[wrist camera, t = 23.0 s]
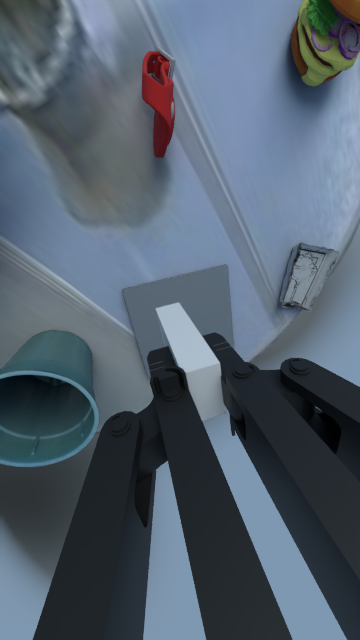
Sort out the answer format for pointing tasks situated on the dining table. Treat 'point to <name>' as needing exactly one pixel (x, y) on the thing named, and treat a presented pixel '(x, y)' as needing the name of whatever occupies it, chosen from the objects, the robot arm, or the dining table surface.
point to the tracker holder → (159, 96)
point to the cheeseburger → (325, 38)
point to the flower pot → (47, 401)
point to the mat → (193, 295)
